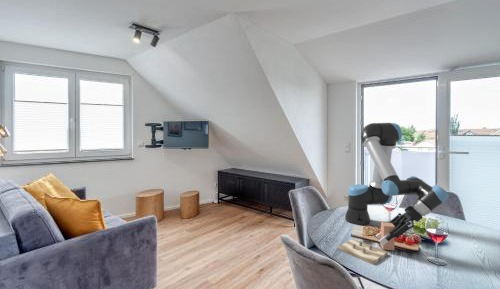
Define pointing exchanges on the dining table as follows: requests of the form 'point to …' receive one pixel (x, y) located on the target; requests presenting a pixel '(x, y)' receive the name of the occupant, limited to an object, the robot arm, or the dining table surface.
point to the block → (384, 231)
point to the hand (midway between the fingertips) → (379, 240)
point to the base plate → (363, 251)
